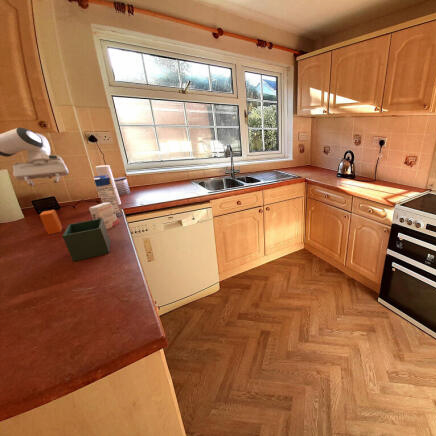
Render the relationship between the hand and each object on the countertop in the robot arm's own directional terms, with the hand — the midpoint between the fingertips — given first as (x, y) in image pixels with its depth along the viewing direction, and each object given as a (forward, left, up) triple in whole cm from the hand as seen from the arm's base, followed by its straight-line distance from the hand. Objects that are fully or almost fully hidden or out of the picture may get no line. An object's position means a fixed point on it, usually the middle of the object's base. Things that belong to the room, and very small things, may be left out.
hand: (43, 183), depth 123 cm
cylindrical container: (+24, +20, -22) cm, 38 cm away
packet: (0, -13, -22) cm, 25 cm away
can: (+28, +49, -22) cm, 61 cm away
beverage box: (+24, -3, -22) cm, 33 cm away
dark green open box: (+18, -50, -22) cm, 57 cm away
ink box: (+22, -23, -22) cm, 39 cm away
